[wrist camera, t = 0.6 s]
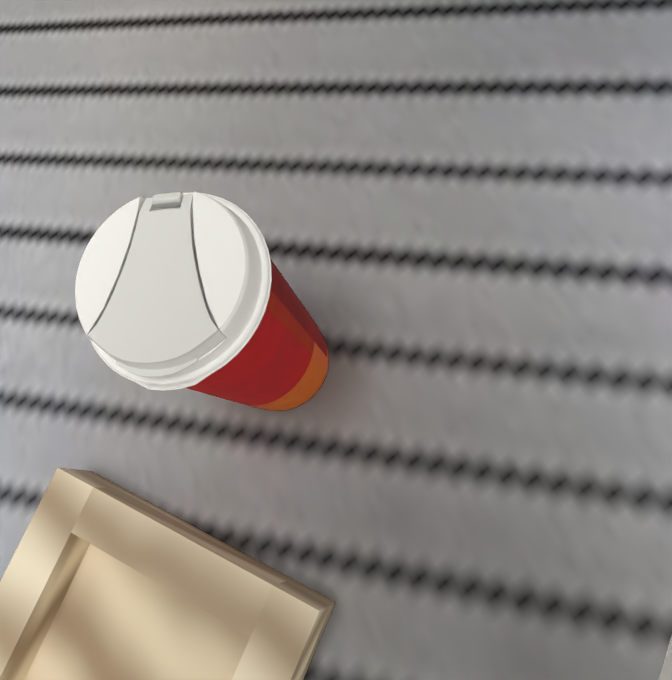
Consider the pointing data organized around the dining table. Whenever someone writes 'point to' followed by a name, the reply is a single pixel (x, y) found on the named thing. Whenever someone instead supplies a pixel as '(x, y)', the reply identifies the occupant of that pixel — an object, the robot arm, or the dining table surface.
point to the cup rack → (145, 597)
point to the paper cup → (197, 304)
